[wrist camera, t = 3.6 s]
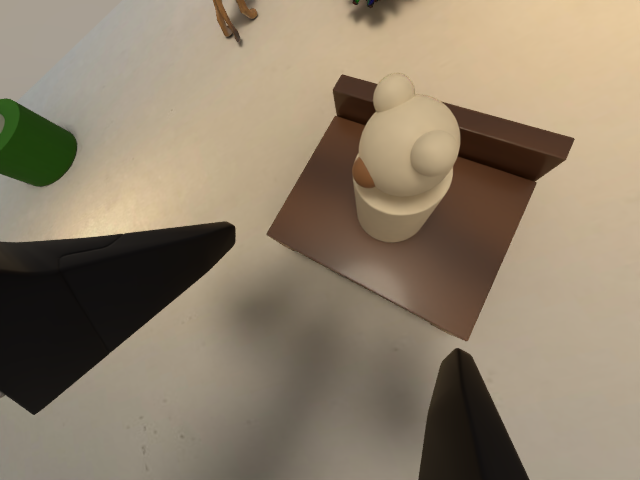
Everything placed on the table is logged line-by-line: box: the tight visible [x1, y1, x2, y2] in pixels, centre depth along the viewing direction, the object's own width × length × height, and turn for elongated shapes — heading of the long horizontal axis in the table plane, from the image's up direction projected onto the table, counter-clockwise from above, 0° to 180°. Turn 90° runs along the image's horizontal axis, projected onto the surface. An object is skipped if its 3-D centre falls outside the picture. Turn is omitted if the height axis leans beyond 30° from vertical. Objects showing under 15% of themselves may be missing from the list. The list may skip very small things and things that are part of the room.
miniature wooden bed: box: [267, 75, 574, 341], centre depth 19 cm, size 14×16×6 cm
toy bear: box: [352, 73, 460, 242], centre depth 13 cm, size 5×5×10 cm
